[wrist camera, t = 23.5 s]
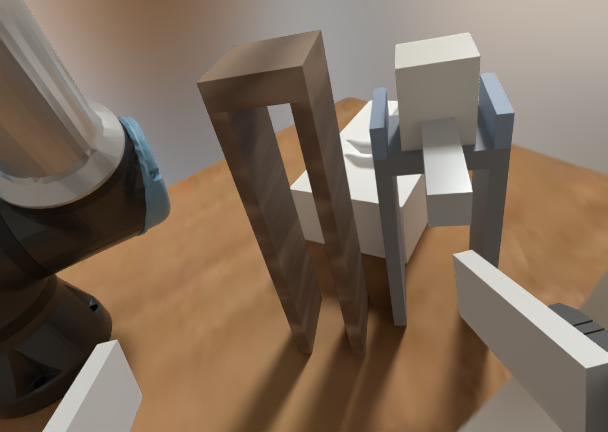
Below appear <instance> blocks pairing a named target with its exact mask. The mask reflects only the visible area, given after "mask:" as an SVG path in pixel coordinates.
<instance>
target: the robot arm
mask: <svg viewBox="0 0 608 432" xmlns="http://www.w3.org/2000/svg"><path fill="white" fill-rule="evenodd" d="M169 213H170V200H169V196H168V193H167V189H166V186H165V183H164V181H163V178H162V176H161V174H160V172H159V169H158V166H157V163H156V160H155V158H154V155H153V153H152V150H151V148H150V146H149V144H148V142H147V140H146V137H145V136H144V134H143V132H142V130H141V129H140V127H139V125H138V124H137V122H136V121H135V120H134V119H133V118H130V117H124V118H121V117H118V118H116V117H115V116H114V114H113V113H112V112H111V111H110V110H109V109H107V108H105V107H104V106H102V105H100V104H98V103H95V102H92V101H89V100H85V98H84V97H83V95H82V94H81V92H80V90H79V89H78V87H77V85H76V84H75V82H74V80H73V79H72V77H71V76H70V74H69V72H68V71H67V69H66V68H65V66H64V64H63V63H62V61H61V60H60V58H59V56H58V55H57V53H56V52H55V50H54V48H53V47H52V45H51V43H50V42H49V40H48V39H47V37H46V35H45V34H44V32H43V31H42V29H41V27H40V26H39V24H38V23H37V21H36V19H35V18H34V16H33V15H32V13H31V11H30V10H29V8H28V7H27V5H26V3H25V2H24V0H0V418H15V417H20V416H23V415H27V414H30V413H32V412H35V411H37V410H39V409H42V408H44V407H46V406H47V405H49V404H51V403H53V402H54V401H56V400H57V399H59V398H60V397H62V396H63V395H65V394H66V395H65V397H64V398H63V400H62V401H61V403H60V404H59V406H58V408H57V409H56V411H55V412H54V414H53V416H52V417H51V419H50V420H49V422H48V424H47V425H46V427H45V428H44V430H43V432H130V429H131V427H132V424H133V421H134V419H135V416H136V413H137V411H138V408H139V405H140V403H141V400H142V397H143V396H142V394H141V391H140V389H139V387H138V385H137V382H136V380H135V378H134V376H133V373H132V371H131V369H130V367H129V364H128V362H127V360H126V358H125V355H124V353H123V351H122V349H121V346H120V344H119V342H118V339H117V340H113V341H109V339H110V336H111V331H112V320H111V317H110V314H109V313H108V311H107V310H106V309H105V308H104V306H103V305H102V304H101V303H100V301H99V300H97V299H96V298H95V297H94V296H92V295H90V294H88V293H86V292H85V291H83V290H81V289H79V288H77V287H75V286H73V285H71V284H70V283H68V282H66V281H64V280H62V279H60V278H58V277H57V276H56V274H55V273H57V272H59V271H61V270H63V269H66V268H68V267H70V266H72V265H74V264H76V263H78V262H80V261H83V260H85V259H87V258H89V257H91V256H93V255H95V254H98V253H100V252H102V251H104V250H106V249H108V248H111V247H113V246H115V245H117V244H119V243H122V242H124V241H126V240H128V239H131V238H133V237H135V236H140V235H142V234H144V233H145V232H147V230H148V229H150V228H152V227H154V226H156V225H158V224H160V223H161V222H163V221H164V220H165V219H166V218H167V217H168V215H169ZM453 260H454V269H455V278H456V288H457V297H458V306H459V315H460V316H461V317H462V318H463V319H464V320H465V322H466V323H467V324H468V325H469V326H470V327H471V328H472V329H473V331H474V332H475V333H476V334H477V335H478V336H479V337H480V339H481V340H482V341H483V342H484V343H485V344H486V345H487V346H488V348H489V349H490V350H491V351H492V352H493V353H494V354H495V355H496V357H497V358H498V359H499V360H500V361H501V362H502V363H503V364H504V366H505V367H506V368H507V369H508V370H509V371H510V372H511V373H512V375H513V376H514V377H515V378H516V379H517V380H518V381H519V382H520V383H521V385H522V386H523V387H524V388H525V389H526V390H527V391H528V392H529V394H530V395H531V396H532V397H533V398H534V399H535V401H536V402H537V403H538V404H539V405H540V406H541V407H542V408H543V410H544V411H545V412H546V413H547V414H548V415H549V416H550V417H551V419H552V420H553V421H554V422H555V423H556V424H557V425H558V426H559V428H560V429H561V430H562V431H563V432H608V331H607V330H605V329H604V328H603V327H602V326H601V325H599V324H598V323H596V322H593V321H592V319H590V318H589V317H588V316H586V315H585V314H583V313H582V312H580V311H579V310H577V309H574V308H572V307H569V306H566V305H564V304H561V303H557V304H553V305H550V306H546V305H544V304H543V303H542V302H540V301H539V300H538V299H536V298H535V297H534V296H532V295H531V294H530V293H528V292H527V291H526V290H524V289H523V288H522V287H520V286H519V285H518V284H517V283H515V282H514V281H513V280H511V279H510V278H509V277H507V276H506V275H505V274H503V273H502V272H501V271H499V270H498V269H497V268H495V267H494V266H493V265H491V264H490V263H489V262H487V261H486V260H485V259H483V258H482V257H481V256H480V255H478V254H477V253H476V252H474V251H473V250H469V251H465V252H461V253H457V254H453Z"/></svg>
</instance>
